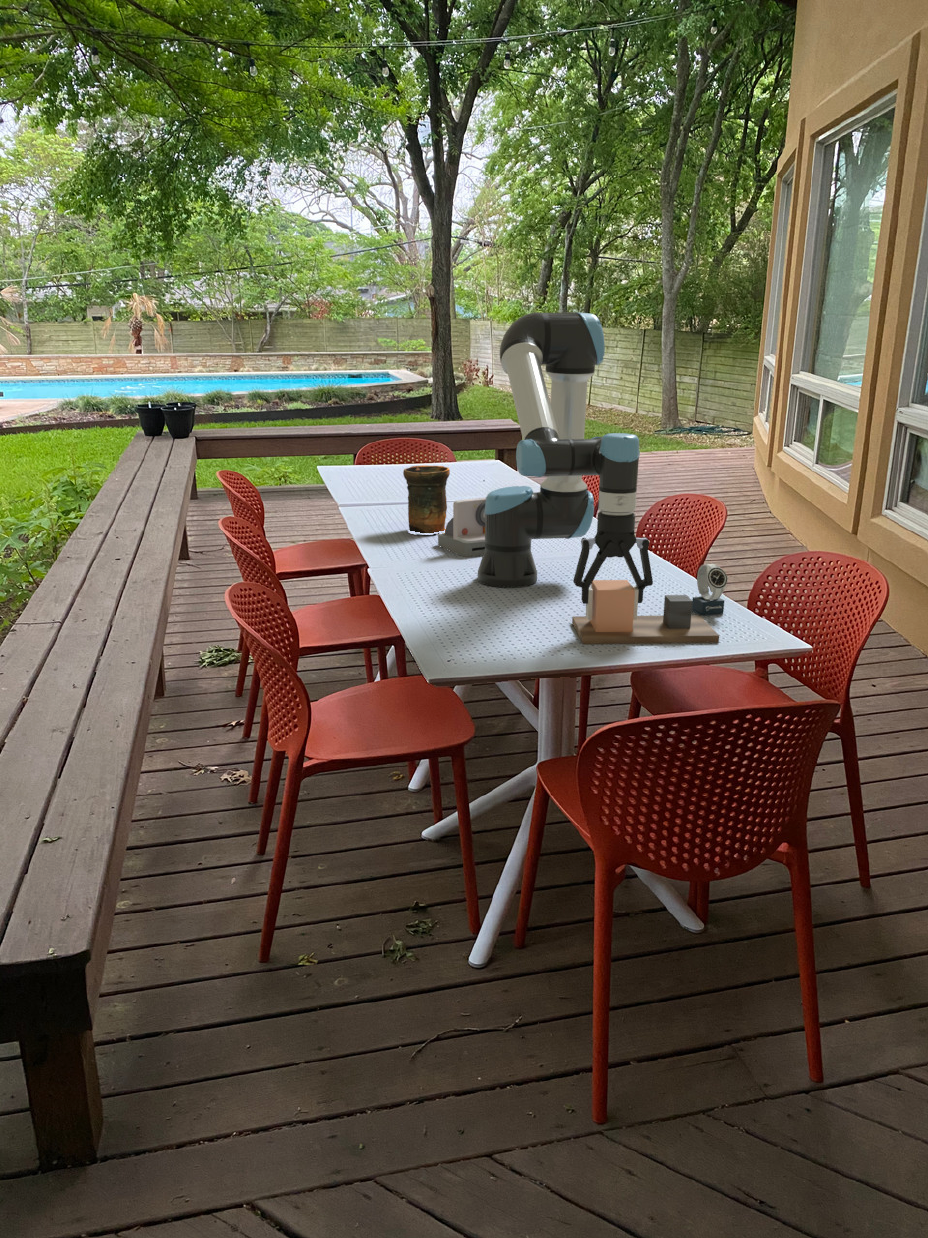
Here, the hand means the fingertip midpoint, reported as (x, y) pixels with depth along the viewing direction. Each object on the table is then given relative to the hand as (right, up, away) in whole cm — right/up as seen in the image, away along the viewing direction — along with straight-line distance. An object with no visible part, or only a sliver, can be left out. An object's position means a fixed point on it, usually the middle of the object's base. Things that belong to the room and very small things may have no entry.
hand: (611, 617), depth 194 cm
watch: (+24, +1, +15) cm, 29 cm away
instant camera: (-27, +20, +76) cm, 83 cm away
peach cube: (0, -2, +1) cm, 2 cm away
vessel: (-42, +27, +97) cm, 109 cm away
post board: (+7, -3, +1) cm, 8 cm away
